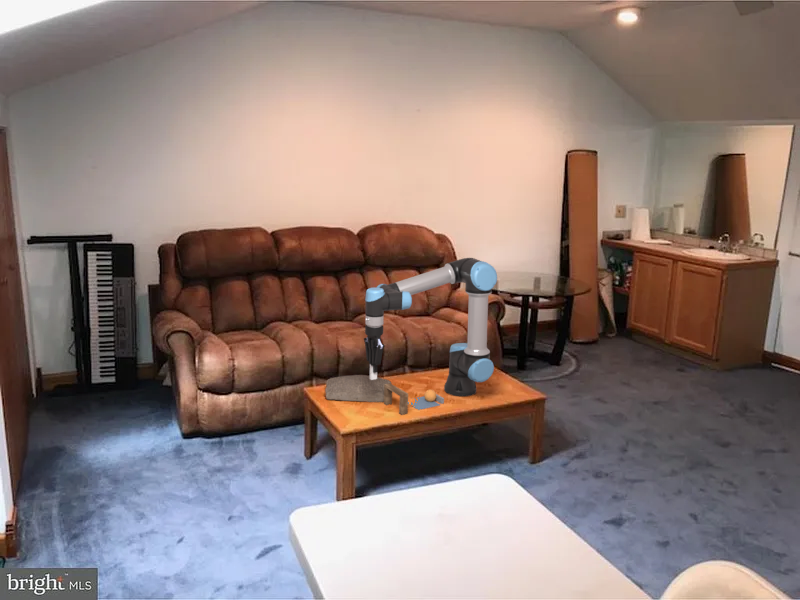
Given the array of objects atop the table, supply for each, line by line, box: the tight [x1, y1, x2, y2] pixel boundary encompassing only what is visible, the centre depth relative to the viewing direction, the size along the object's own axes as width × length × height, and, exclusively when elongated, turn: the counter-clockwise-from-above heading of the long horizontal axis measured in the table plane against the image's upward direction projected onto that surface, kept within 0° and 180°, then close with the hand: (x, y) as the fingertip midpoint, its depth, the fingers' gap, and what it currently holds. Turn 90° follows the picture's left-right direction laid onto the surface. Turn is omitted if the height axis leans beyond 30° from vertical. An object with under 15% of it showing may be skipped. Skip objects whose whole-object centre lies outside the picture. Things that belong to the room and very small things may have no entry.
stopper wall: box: [434, 393, 445, 405], centre depth 309 cm, size 1×10×2 cm, turn 33°
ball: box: [423, 389, 437, 402], centre depth 306 cm, size 6×6×6 cm
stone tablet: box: [324, 374, 392, 403], centre depth 312 cm, size 20×8×30 cm
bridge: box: [383, 382, 409, 416], centre depth 296 cm, size 3×14×9 cm, turn 33°
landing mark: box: [408, 395, 441, 411], centre depth 305 cm, size 12×12×1 cm
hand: (373, 378), depth 287 cm, fingers closed
